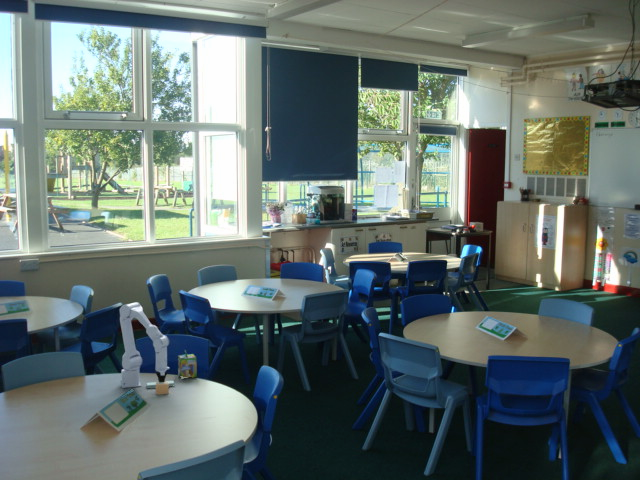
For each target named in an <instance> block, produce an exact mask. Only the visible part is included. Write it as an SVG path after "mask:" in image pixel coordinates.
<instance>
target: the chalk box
mask: <svg viewBox="0 0 640 480" xmlns="http://www.w3.org/2000/svg"><path fill="white" fill-rule="evenodd" d="M184 353H185V354H180V355H179V354H178V355H177V367H178V368H177V371H178V372H177V374H178V377H179V376H183V377H192V379H194V378H198V372H197V371H198V369H197V367H198V366H197V356H196V354H194V353H191V354H190V353H189V354H188V353H187V350H186V349H184Z"/></svg>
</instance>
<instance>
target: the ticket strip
mask: <svg viewBox="0 0 640 480" xmlns="http://www.w3.org/2000/svg"><path fill="white" fill-rule="evenodd" d="M157 382H158V381H153V382H146V384H145V385H147V386H146V389H147V388H150V389H155V388H154V387H156V383H157ZM165 382H168V384H169V386H172V387H174V386H175V381H174V380H165ZM173 385H174V386H173Z"/></svg>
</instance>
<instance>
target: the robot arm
mask: <svg viewBox="0 0 640 480" xmlns="http://www.w3.org/2000/svg"><path fill="white" fill-rule="evenodd" d="M143 310H144V308H143V306H142V305H141V304H140V303H139V302H138V301H134V302H132V303H126V304H123V305H121V306H120V308H119V323H120V328H121V333H122V334H121V335H122V341H123V345H124V346H123V348H124V351H125V352H124V353H123V355H122V357H121V358H122V360H121V366H122V368H123V369H121V373H120V374H121V377H120V378H121V380H120V384H121V388H122V389H124V388H134V387H141V385H142V384H141V381H140V368H141V365H142V364H143V358H142V357H141V356H142V355H141V354H140V353H141V352H140V351H138V350H137V348H136V344H135V337H134V331H133V326H132V325H133V324H132V320H133V319H136V320H138V322H139V323H140V324H141V325H143V327H144V328H145V330H146V331H145V333H146V335H148V337H149V338H150V339H151V340H152V346H153V347H154V351H155V368H154V369H155V370H154V371H155V375H156V376H157V380H158V381H157V382H165V381H166V377H167V375H168V371H167V370H169V369H170V367H169V366H168V346H169V344H170V339H169V337H168V336H167V335H164V334H163V333H162V332H161V331H160V330H159V328H158V326H156V325H155V324H152V323H151V322H150V320H149V318H148V317H147V315H146V314H145V312H144V311H143Z"/></svg>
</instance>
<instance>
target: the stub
mask: <svg viewBox="0 0 640 480" xmlns="http://www.w3.org/2000/svg"><path fill="white" fill-rule="evenodd" d="M156 382H157V383H156V388H155V393H156V395H166V394H167V395H168V394H169V393H170V391H169V390H170V389H169V388H170V387H169V384H168V382H159V381H156Z"/></svg>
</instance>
